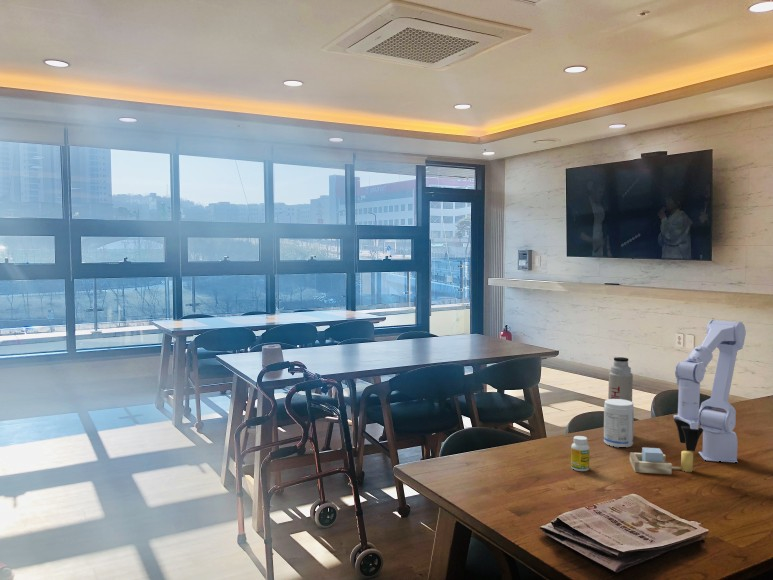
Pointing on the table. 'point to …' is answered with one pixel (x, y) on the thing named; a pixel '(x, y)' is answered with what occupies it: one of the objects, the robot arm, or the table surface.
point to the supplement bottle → (580, 454)
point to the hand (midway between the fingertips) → (687, 446)
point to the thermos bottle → (620, 380)
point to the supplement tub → (618, 422)
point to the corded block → (657, 456)
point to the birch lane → (649, 465)
